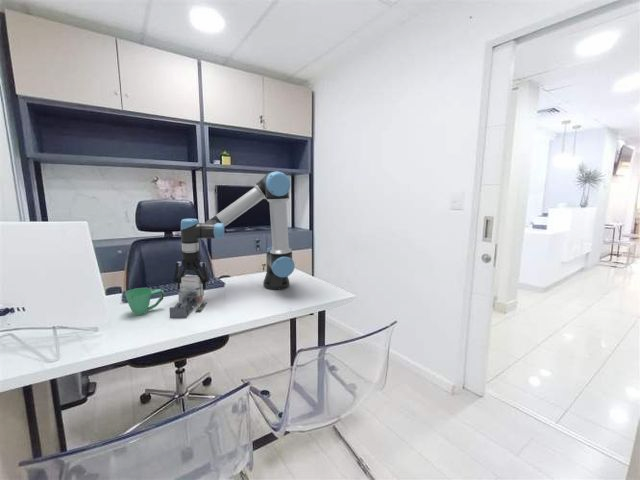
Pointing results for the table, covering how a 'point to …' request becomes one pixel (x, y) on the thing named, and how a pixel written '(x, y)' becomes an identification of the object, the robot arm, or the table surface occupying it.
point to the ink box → (191, 284)
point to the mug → (141, 299)
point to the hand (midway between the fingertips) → (192, 295)
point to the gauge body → (184, 310)
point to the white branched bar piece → (188, 298)
